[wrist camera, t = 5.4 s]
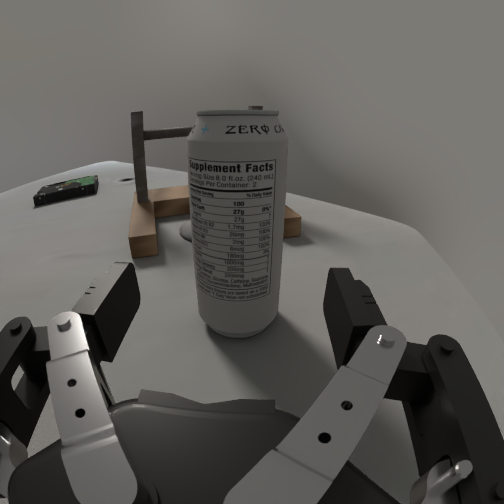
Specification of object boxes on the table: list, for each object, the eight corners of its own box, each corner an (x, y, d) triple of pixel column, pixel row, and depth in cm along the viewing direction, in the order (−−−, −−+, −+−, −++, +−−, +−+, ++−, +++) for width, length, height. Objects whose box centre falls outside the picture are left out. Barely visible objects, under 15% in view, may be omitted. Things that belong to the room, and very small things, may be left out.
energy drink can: (285, 303, 25) (298, 111, 18) (263, 352, 20) (272, 110, 13) (219, 288, 27) (214, 110, 20) (185, 330, 21) (165, 113, 15)
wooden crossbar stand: (132, 258, 31) (115, 113, 24) (136, 206, 47) (129, 113, 40) (299, 235, 37) (307, 107, 30) (250, 193, 53) (252, 106, 46)
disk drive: (35, 210, 50) (97, 195, 56) (32, 197, 49) (95, 182, 55) (43, 197, 58) (98, 184, 64) (41, 186, 57) (97, 173, 63)
